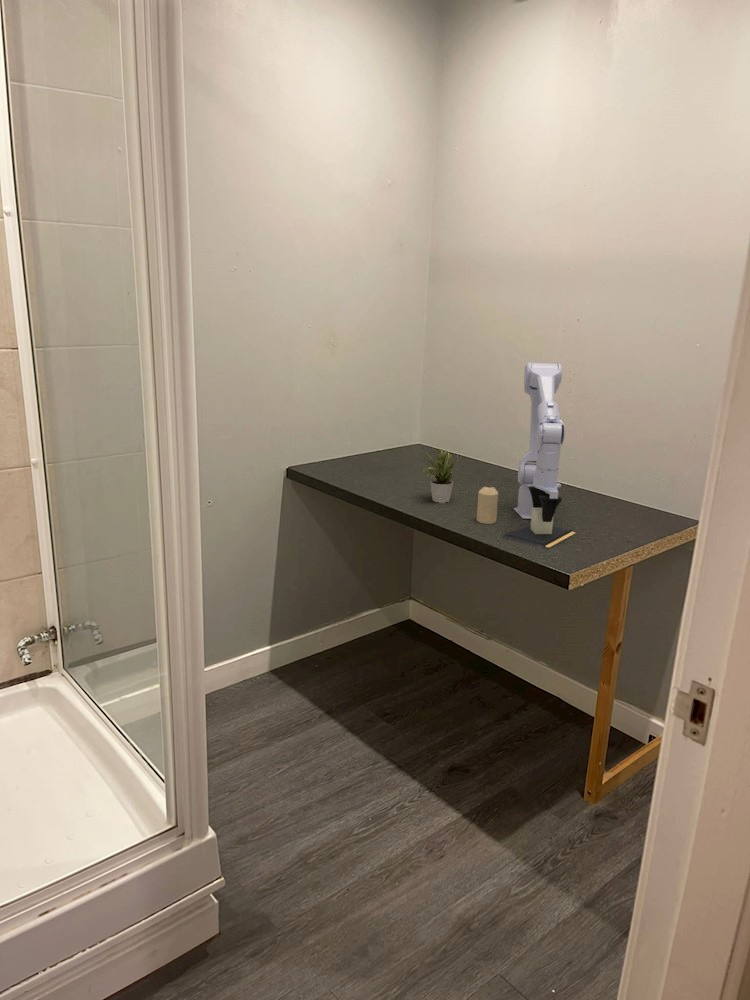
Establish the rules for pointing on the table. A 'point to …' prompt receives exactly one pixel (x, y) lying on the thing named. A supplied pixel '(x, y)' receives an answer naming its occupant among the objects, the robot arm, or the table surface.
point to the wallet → (539, 536)
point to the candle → (487, 505)
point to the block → (540, 523)
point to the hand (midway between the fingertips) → (542, 517)
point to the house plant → (441, 478)
